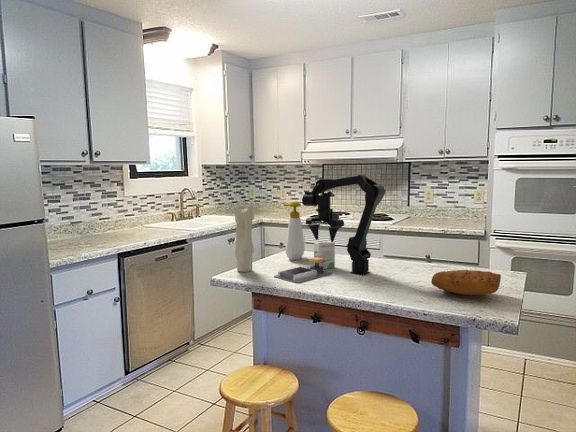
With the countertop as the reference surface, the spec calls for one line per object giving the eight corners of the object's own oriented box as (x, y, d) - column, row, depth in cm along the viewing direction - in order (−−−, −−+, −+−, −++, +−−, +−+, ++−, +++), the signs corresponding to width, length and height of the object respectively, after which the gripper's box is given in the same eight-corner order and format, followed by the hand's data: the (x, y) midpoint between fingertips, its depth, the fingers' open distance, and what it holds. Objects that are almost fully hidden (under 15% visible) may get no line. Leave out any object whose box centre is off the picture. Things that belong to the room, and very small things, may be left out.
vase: (258, 270, 189) (256, 203, 186) (245, 274, 182) (244, 205, 179) (243, 267, 194) (241, 203, 190) (230, 271, 187) (229, 204, 183)
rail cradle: (332, 273, 180) (332, 267, 180) (297, 283, 166) (297, 276, 166) (308, 268, 190) (308, 263, 190) (274, 277, 176) (273, 271, 176)
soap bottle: (291, 255, 220) (290, 200, 217) (308, 257, 215) (308, 200, 212) (278, 260, 209) (277, 202, 206) (296, 262, 204) (295, 202, 201)
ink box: (329, 265, 196) (329, 240, 195) (335, 267, 192) (335, 242, 190) (313, 267, 192) (313, 242, 191) (319, 269, 188) (318, 243, 187)
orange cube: (323, 266, 184) (323, 258, 183) (317, 268, 181) (317, 260, 180) (316, 265, 187) (316, 257, 186) (309, 266, 184) (309, 258, 183)
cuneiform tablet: (503, 293, 150) (504, 271, 149) (494, 305, 136) (495, 281, 136) (440, 283, 163) (441, 263, 162) (426, 294, 149) (427, 272, 148)
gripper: (351, 206, 188) (351, 240, 190) (320, 204, 201) (320, 236, 203) (335, 208, 180) (336, 244, 182) (304, 206, 194) (305, 239, 195)
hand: (324, 240), depth 191 cm, fingers open, 9 cm apart
